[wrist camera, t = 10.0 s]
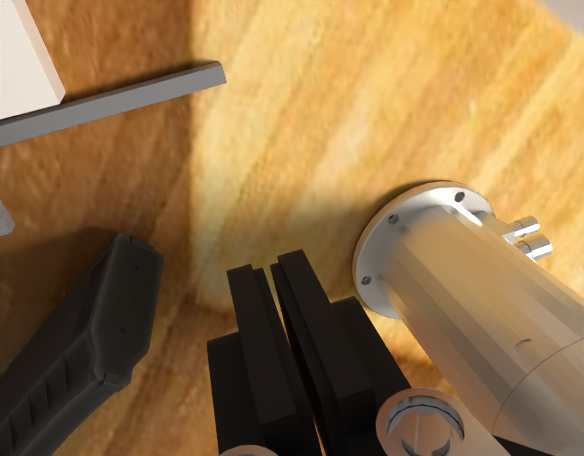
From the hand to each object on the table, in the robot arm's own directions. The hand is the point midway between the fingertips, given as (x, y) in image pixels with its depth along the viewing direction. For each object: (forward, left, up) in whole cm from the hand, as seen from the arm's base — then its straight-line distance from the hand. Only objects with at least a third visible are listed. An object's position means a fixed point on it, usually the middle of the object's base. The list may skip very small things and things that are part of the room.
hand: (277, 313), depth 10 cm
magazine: (+19, +17, -21) cm, 32 cm away
